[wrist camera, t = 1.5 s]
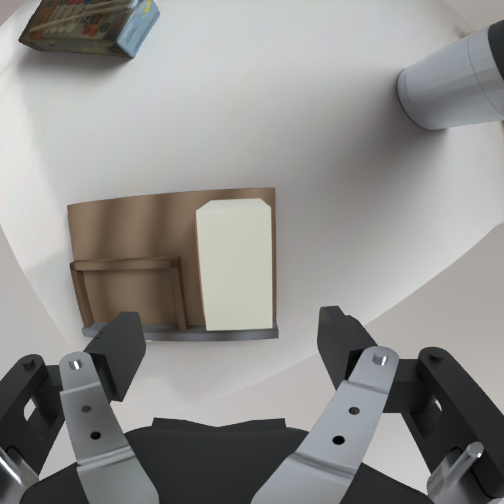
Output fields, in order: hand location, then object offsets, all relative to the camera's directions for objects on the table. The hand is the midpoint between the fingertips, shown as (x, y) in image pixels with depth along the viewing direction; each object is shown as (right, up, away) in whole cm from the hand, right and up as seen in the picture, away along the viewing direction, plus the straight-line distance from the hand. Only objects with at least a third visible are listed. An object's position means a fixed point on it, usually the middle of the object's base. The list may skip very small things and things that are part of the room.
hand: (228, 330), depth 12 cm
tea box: (-1, +4, +18) cm, 18 cm away
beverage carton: (-20, +33, +12) cm, 41 cm away
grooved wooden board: (-9, +2, +20) cm, 22 cm away
